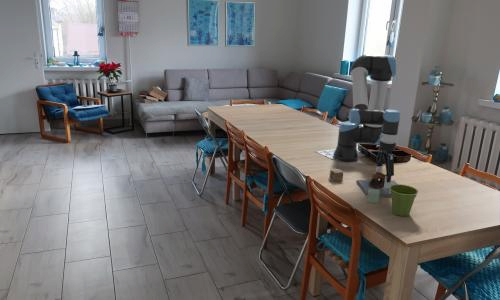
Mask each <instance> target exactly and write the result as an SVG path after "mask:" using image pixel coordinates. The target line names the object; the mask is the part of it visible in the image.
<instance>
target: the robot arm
mask: <svg viewBox="0 0 500 300" xmlns="http://www.w3.org/2000/svg"><path fill="white" fill-rule="evenodd" d="M396 61H397V60H396V58H395V56H394V55H389V54H370V53H369V54H368V53H367V54H363V55H360V56H359V57H357V58H356V59H355V60H354V61H353V63H352V65H351V66H350V70H349V73H350V78H351V79H352V108H350V110H349V113H348V114H349V115H348V120H346V121H343V122H341V123H340V124H339V127H338V136H337V143H336V144H337V146H336V148H335V150H334V152H333V155H332V156H333V159H334V160H335V161H338V162H343V163H356V162H358V161H359V153H358V148H357V146H358V144H362V145H378V147H379V148H378V153H377V156H376V159H375V162H374V163H375V165H376V169H375V173H376V172H380V173H382V172H383V171H382V170H383V167H384V164H385V182H384V188H390V183H391V181H392V177H394V176H395V161H394V160H395V155H394V154H393V153H392V152H394V151H395V150H396V145H397V141H398V131H399V127H400V126H399V125H400V121H401V112H400V111H399V110H397V109H387V108H386V109H384V106H385V101H386V96H387V89H388V83H389V82H390V81H392V78H394V77H395V76H396V74H397V62H396ZM368 76H370V77H369V79H370V80H371V87H370V94H369V96H368V83H367V81H368V78H367V77H368ZM368 97H369V98H368ZM382 174H383V173H382Z"/></svg>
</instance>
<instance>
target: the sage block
mask: <svg viewBox="0 0 500 300" xmlns="http://www.w3.org/2000/svg"><path fill="white" fill-rule="evenodd" d="M379 194H380V190H377V189H370V188H369V190H368V196H367V199H366V202H367V203H372V204H379V200H380V196H379Z"/></svg>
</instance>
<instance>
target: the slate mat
mask: <svg viewBox="0 0 500 300" xmlns="http://www.w3.org/2000/svg"><path fill="white" fill-rule="evenodd" d="M370 181H371V179H356V183H357V185H358V186H359V187H360V189H361V190H362V191H363V193H364V194H365V195H366V197H368V190H369V188H370V189H376V188H374V187H372V186H370V185H369V182H370ZM396 184H398V182H396V181H395V180H391V183H390V186H392V185H396ZM377 190H380V194H379V197H382V198H383V197H384V198H385V197H387V198H388V197H389V198H390V197H391V190H390V188H384V187H383V188H380V187H379V186H378V187H377ZM391 198H392V197H391Z"/></svg>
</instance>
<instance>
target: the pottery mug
mask: <svg viewBox="0 0 500 300" xmlns="http://www.w3.org/2000/svg"><path fill="white" fill-rule="evenodd" d="M385 175H386V173H380V172H376V171H375V173H374V174H372V175H371V179H370V180H371V181H370V182H369V185H370V186H372V187H374V188H376V189H377V187H378V186H379V187H380V188H383V187H384V182H385Z"/></svg>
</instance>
